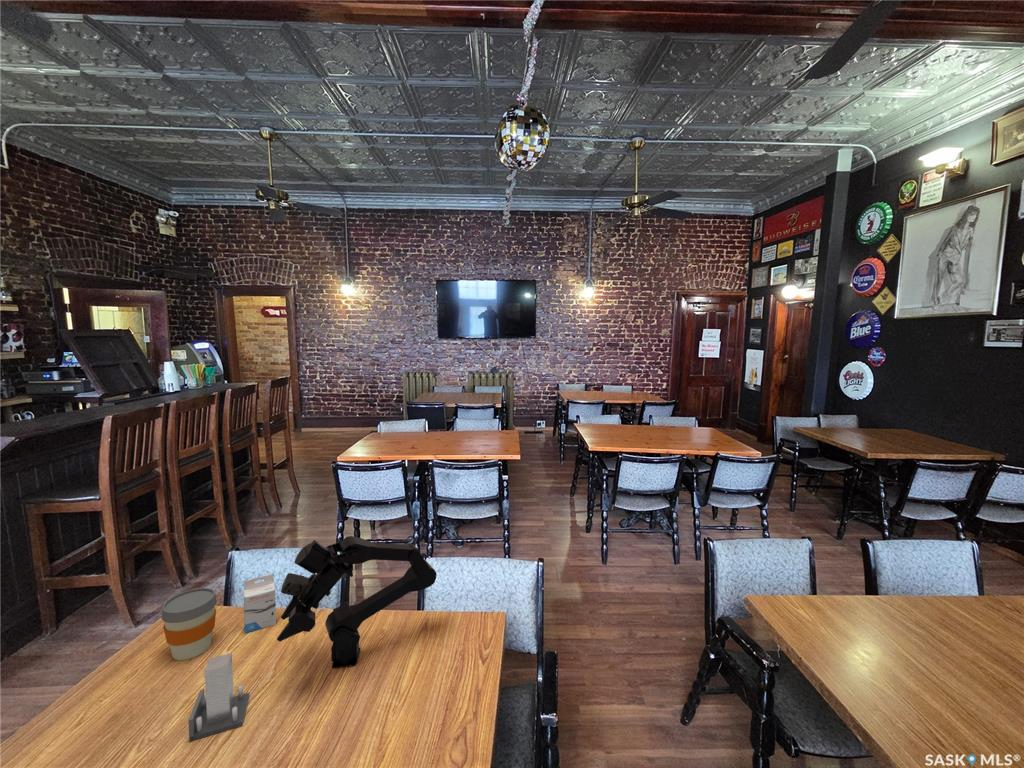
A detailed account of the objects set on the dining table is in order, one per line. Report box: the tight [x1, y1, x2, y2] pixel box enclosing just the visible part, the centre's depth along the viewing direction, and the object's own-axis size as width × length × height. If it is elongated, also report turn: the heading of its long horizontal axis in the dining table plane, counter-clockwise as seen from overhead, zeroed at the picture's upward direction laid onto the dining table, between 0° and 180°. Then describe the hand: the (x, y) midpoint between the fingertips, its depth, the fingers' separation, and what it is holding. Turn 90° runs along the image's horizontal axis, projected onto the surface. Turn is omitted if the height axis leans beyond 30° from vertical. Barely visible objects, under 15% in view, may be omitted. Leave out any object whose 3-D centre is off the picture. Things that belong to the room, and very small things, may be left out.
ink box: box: [243, 573, 277, 634], centre depth 130 cm, size 8×5×15 cm, turn 123°
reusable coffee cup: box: [161, 587, 218, 661], centre depth 120 cm, size 13×12×15 cm
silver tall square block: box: [204, 652, 235, 724], centre depth 97 cm, size 4×4×13 cm
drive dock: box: [187, 684, 250, 742], centre depth 98 cm, size 10×9×5 cm
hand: (280, 629), depth 109 cm, fingers open, 9 cm apart
